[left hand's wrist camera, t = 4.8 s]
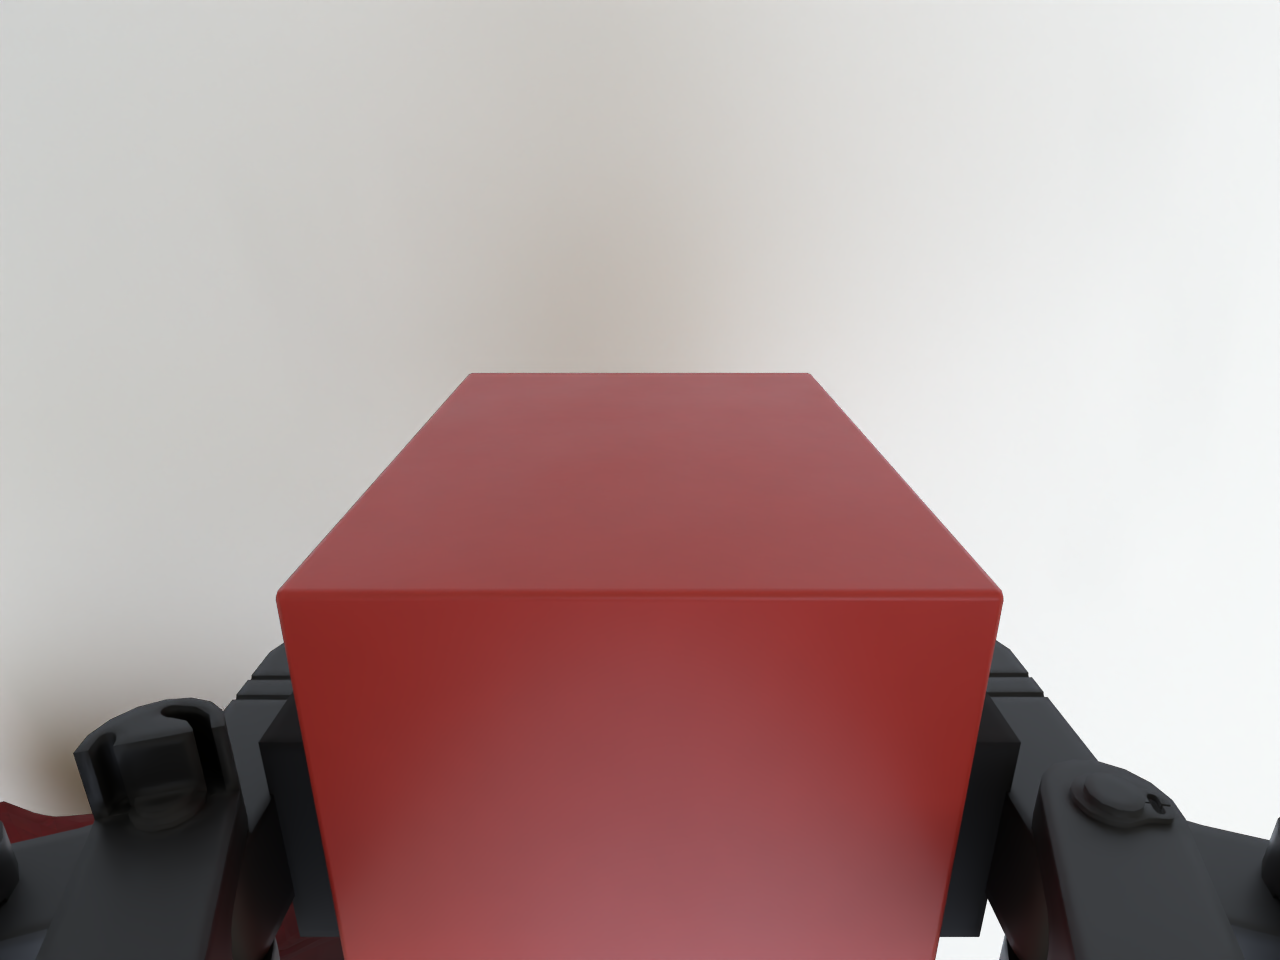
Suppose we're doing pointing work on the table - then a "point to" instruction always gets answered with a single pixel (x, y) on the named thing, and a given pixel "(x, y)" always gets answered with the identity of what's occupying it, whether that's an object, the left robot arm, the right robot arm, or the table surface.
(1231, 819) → the table surface
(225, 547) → the table surface
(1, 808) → the dark red rounded piece
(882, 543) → the brick
